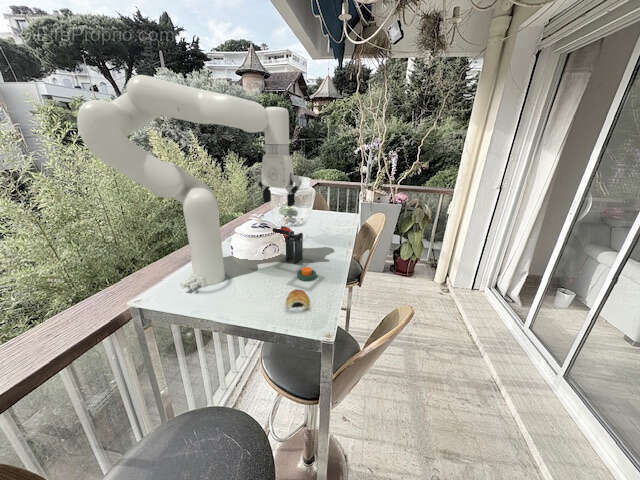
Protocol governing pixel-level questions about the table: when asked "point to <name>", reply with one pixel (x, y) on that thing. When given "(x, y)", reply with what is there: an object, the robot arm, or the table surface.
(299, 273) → the button box
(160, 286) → the table surface
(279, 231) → the lever
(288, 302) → the pastry
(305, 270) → the button
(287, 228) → the tomato
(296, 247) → the bracket
